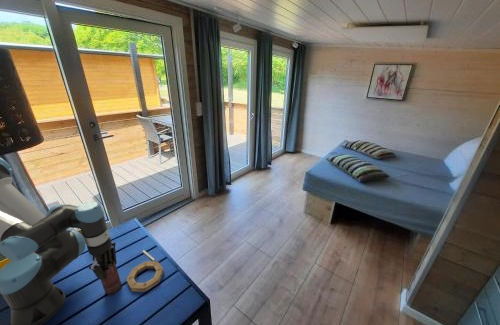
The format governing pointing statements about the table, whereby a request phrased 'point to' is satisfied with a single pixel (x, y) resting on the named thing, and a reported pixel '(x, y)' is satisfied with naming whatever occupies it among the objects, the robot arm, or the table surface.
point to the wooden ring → (149, 284)
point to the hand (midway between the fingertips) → (112, 283)
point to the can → (111, 280)
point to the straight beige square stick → (148, 255)
